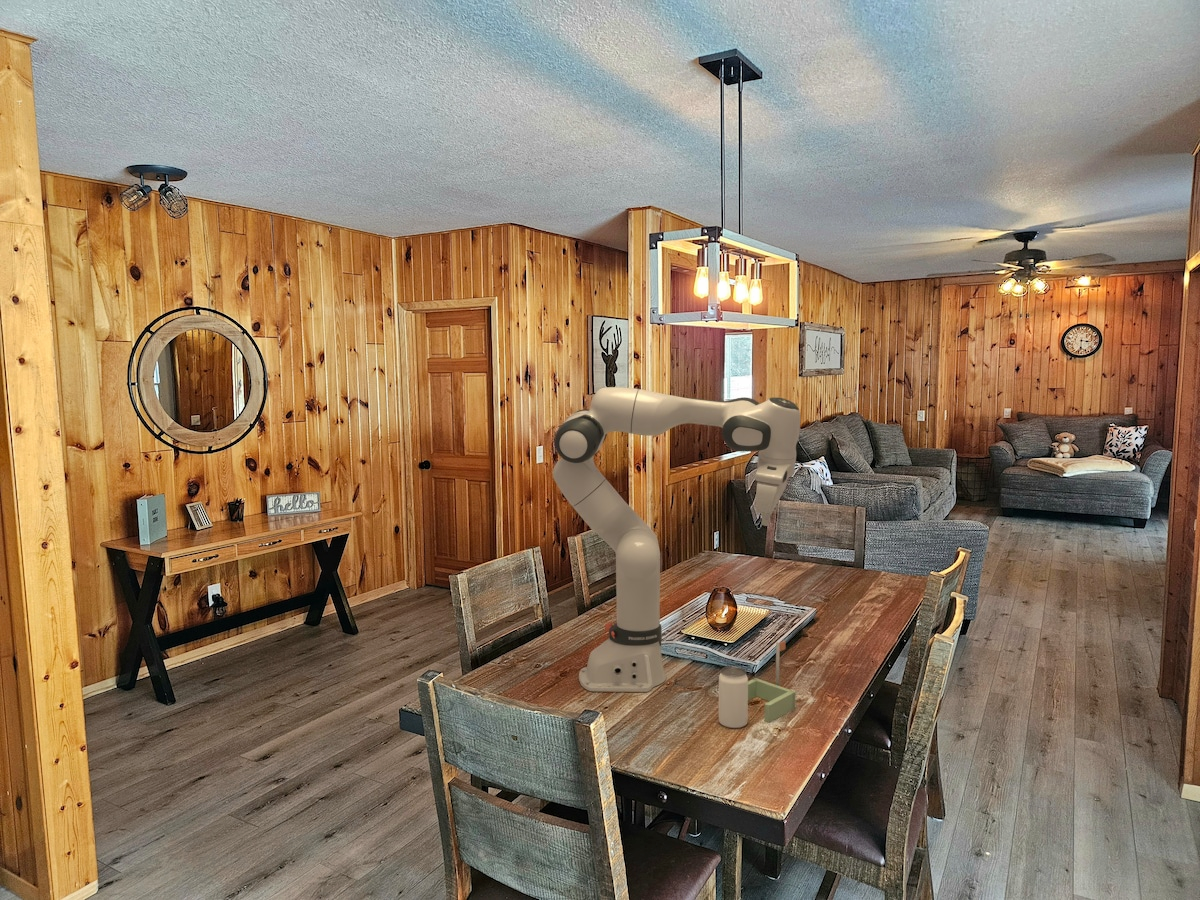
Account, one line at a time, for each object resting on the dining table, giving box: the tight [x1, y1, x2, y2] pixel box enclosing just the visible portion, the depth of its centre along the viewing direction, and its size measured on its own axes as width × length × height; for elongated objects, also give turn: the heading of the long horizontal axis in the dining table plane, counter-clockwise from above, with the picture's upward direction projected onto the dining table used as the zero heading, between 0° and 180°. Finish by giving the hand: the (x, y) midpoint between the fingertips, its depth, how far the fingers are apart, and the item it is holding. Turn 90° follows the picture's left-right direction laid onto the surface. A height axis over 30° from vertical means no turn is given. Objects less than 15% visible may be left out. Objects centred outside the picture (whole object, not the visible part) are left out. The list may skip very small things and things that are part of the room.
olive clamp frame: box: [748, 640, 797, 723], centre depth 184 cm, size 15×11×14 cm
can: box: [718, 666, 749, 729], centre depth 176 cm, size 6×6×12 cm
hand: (769, 517), depth 192 cm, fingers open, 8 cm apart
